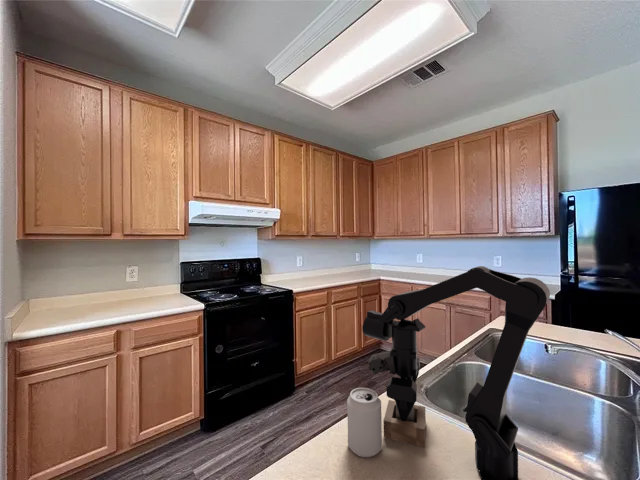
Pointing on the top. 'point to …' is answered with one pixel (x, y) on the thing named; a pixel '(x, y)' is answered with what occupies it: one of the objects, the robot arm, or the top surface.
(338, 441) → the top surface
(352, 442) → the can
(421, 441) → the socket
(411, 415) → the peg
